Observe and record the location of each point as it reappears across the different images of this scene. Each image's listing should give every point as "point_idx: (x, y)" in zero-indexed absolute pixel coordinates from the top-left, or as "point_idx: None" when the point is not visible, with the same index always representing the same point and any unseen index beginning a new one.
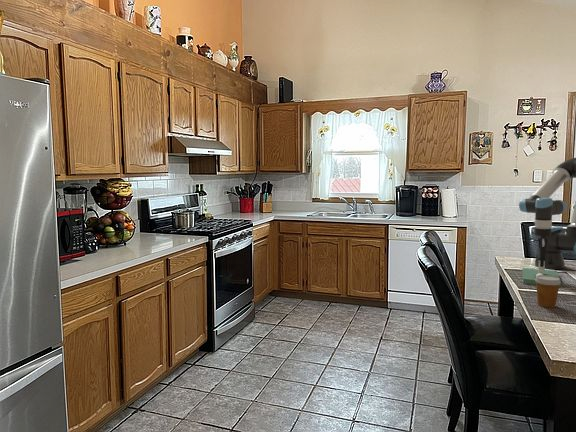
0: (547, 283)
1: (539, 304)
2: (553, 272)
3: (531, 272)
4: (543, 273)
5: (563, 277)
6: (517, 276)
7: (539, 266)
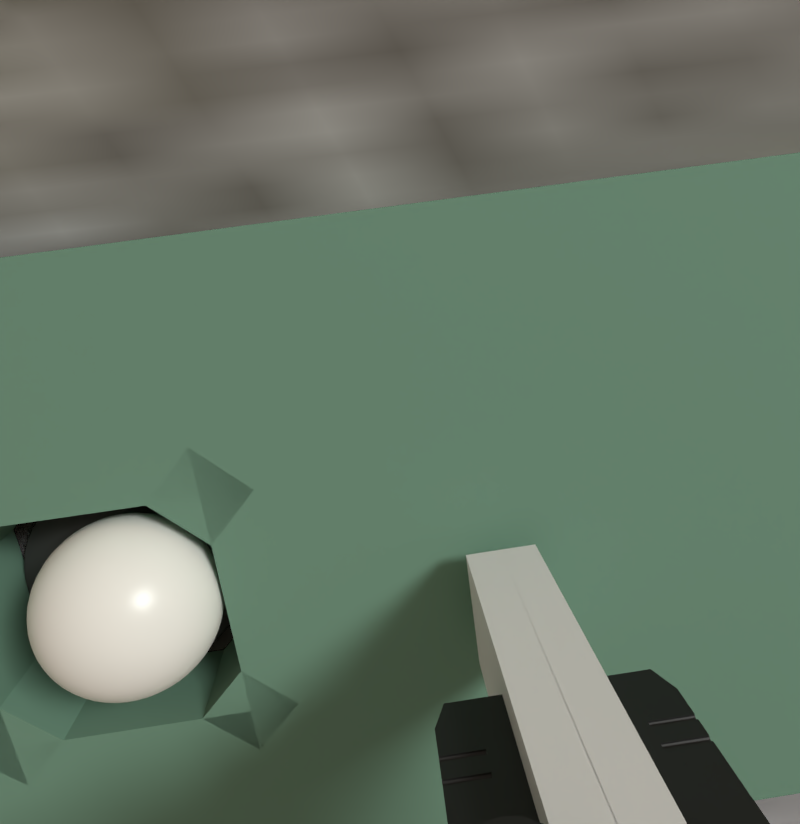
0: None
1: None
2: None
3: (506, 395)
4: None
5: None
6: (401, 84)
7: (496, 670)
